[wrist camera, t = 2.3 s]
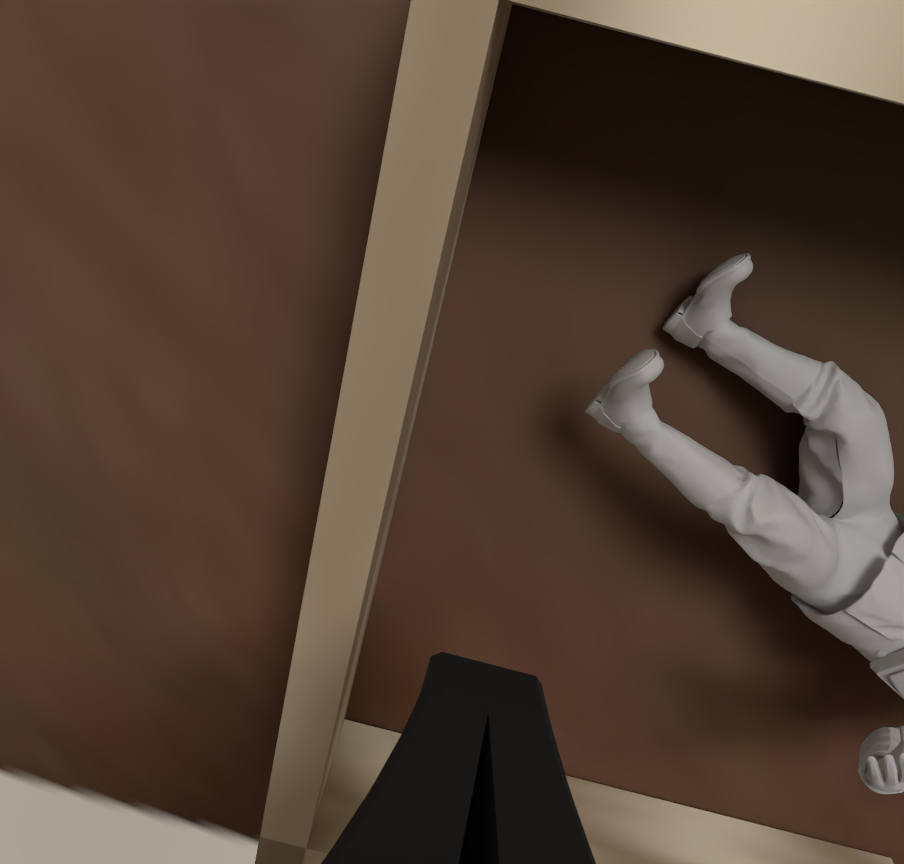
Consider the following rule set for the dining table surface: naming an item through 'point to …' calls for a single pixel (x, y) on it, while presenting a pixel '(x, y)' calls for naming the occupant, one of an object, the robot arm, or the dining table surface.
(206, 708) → the dining table surface
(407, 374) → the beech frame
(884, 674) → the soldier figure
